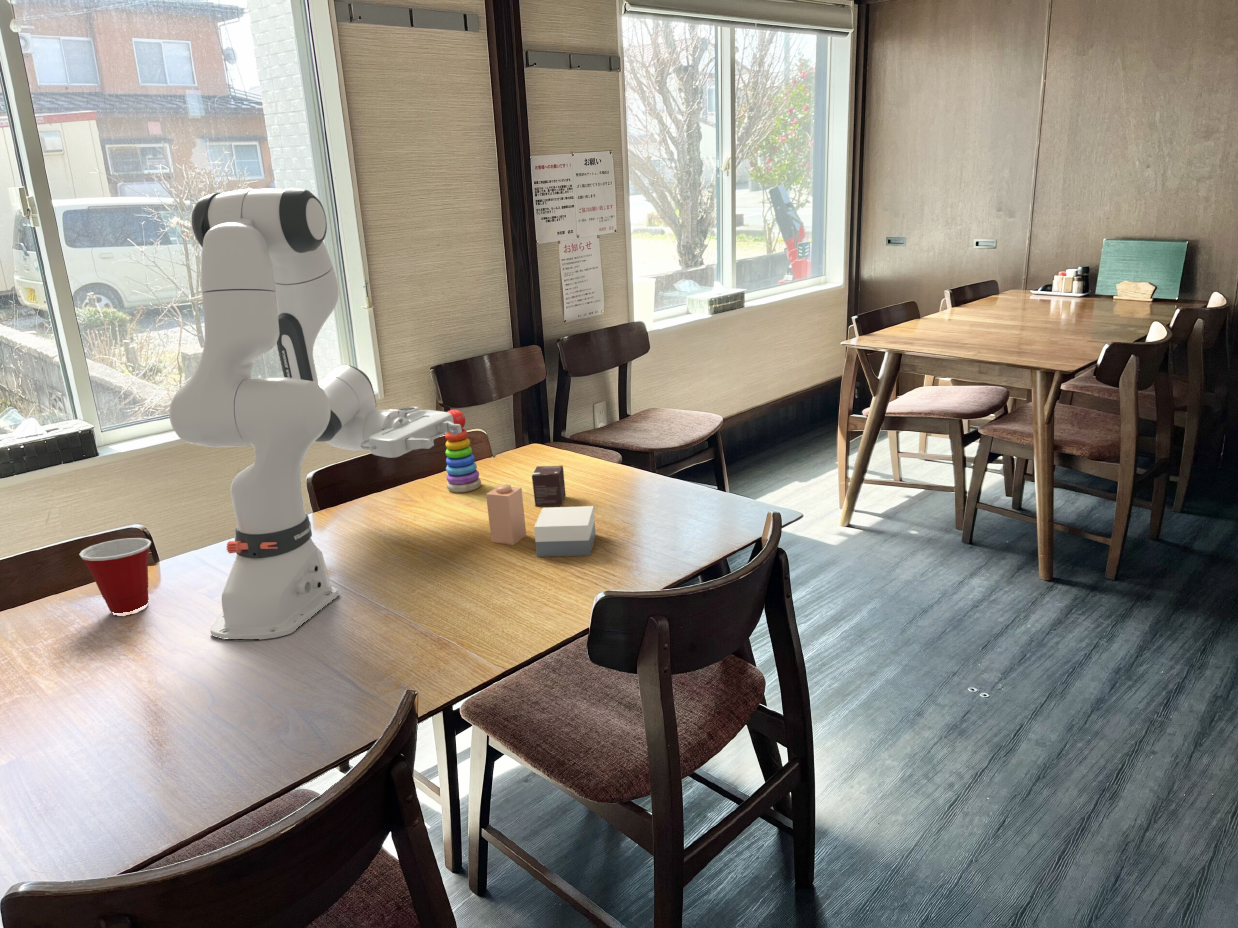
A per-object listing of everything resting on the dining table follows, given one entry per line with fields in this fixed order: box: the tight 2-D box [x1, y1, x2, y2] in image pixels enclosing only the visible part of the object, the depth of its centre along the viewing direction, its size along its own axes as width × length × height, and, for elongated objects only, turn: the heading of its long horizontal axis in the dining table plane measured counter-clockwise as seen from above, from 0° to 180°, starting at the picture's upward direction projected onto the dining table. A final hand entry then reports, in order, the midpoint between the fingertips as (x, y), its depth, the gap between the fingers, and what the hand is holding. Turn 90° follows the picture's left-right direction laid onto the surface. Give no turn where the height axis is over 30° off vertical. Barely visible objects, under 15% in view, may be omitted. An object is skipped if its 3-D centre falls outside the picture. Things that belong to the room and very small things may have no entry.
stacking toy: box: [444, 409, 482, 493], centre depth 205 cm, size 8×8×19 cm
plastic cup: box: [79, 537, 152, 613], centre depth 154 cm, size 11×11×12 cm
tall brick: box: [485, 484, 527, 546], centre depth 175 cm, size 5×5×11 cm
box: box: [531, 465, 567, 507], centre depth 195 cm, size 6×6×7 cm
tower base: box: [533, 505, 597, 558], centre depth 170 cm, size 10×10×6 cm
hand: (445, 436), depth 176 cm, fingers open, 8 cm apart
